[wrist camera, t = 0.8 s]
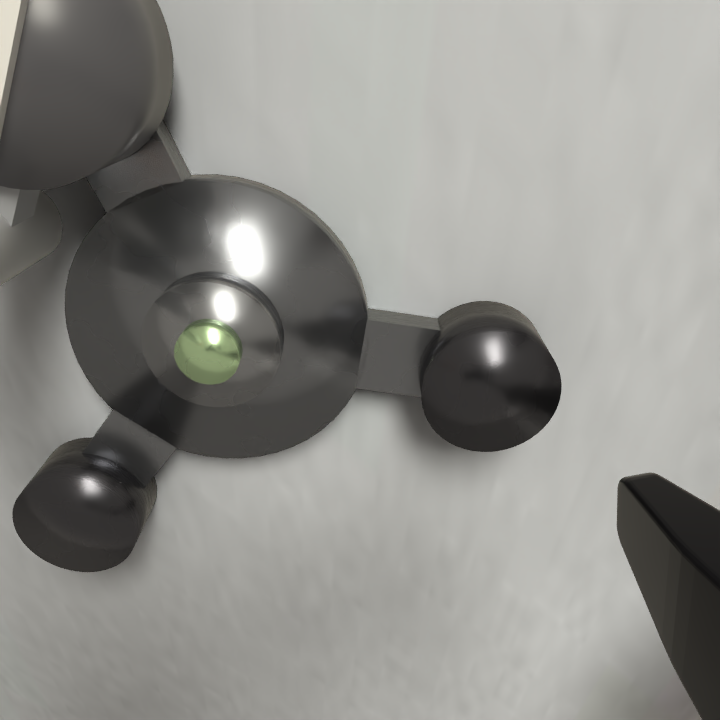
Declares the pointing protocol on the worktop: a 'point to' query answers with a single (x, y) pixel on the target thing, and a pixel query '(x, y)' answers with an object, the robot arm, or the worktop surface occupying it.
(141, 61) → the footscrew lever
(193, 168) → the worktop surface
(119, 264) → the tribrach
